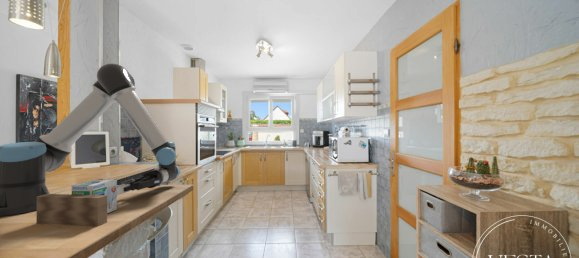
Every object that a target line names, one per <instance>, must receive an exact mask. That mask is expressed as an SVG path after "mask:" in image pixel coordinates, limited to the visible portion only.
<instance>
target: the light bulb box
mask: <svg viewBox="0 0 579 258" xmlns="http://www.w3.org/2000/svg"><path fill="white" fill-rule="evenodd" d="M117 186H118V180H117V178H96V179H94V180H93V179H92V180H89V181H86V182H82V183H81V182H80V183H76V184H73V185H71V194H72V195H107V214H109V213H112V212H114V211H116V210H118V208H117V207H118V195H117Z"/></svg>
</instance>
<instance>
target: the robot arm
mask: <svg viewBox="0 0 579 258" xmlns="http://www.w3.org/2000/svg"><path fill="white" fill-rule="evenodd" d="M96 79H97V80H96V81H95V82H94V83H93V84H92V91H91V92H89V94H88V95H87V96H86V97H85V98H84V99H83V100H82V101H81V102H80V103H78V105H77V106H76V107H75V108H74V109H73V110H72V111H71V112H70V113H68V114H67V116H65V118H63V120H61V122H59V123H58V124H57V125H56V126H55V127H54V128H53V129H52V130H51V131H50V132H49V133H48V134H44V135H43V134H41V135H39V136H38V137H37V138H36V139H35V141H24V142H23V141H20V142H10V143H5V144H2V145H0V217H3V216H4V217H5V216H12V215H19V214H25V213H30V212H36V211H37V196H41V195H46V194H51V193H50V191H49V188H48V187H47V184H46V179H47V178H46V174H47V173H51V172H53V171H56V170H58V169H59V168H60V167H61V166H63V164H64V163H65V162H66V160H67V157H69V155H70V154H71V153H72V151H73V149H72V146H73V144H75V143H76V141H78V140H79V139H80V138H81V137H82V136H83V134H84V133H86V131H87V130H89V128H90V127H91V126H92V125H93V124H94V123H95V122H97V120H98V119H99V118H100V117H101V116H102V115H103V114H104V113H105V112H106V111H107V110H108V109H109V108H110V107H111V106H112V104H117V103H118V105H119V106H120V107H121V109H122V111H124V114H125V115H126V116H127V118H128V119H129V120H130V122H131V123H132V125H133V126H134V128H135V129H136V130H137V132H138V133H139V135H140V137H141V138H142V140H143V141H144V142H145V144H146V146H148V148H149V149H150V151H151V152H152V154H153V155H154V157H155V160H156V161H157V162H158V168H155V169H151V170H149V171H145V172H144V173H143V175H142V176H140V177H138V178H137V177H136V178H134V179H133V178H129V179H127V180H124V181H121V182H120V183H117V196H119V195H123V194H125V193H129V192H130V191H132V192H133V191H135V190H136V191H140V190H143V189H153V188H154V189H155V188H156V187H160V186H161V185H164V184H166V183H169V182H172V181H174V180H176V179H177V178H179V177H180V174H181V169H180V167H179V166H178V165H177V162H176V158H177V153H176V143H175V142H174V141H168V140H167V138H166V136H165V135H164V134H163V131H162V130H161V129H160V127H159V126H158V124H157V123H156V121H155V120H154V118H153V117H152V115H151V114H150V112H149V111H148V109H147V107H146V106H145V105H144V103H143V102H142V100H141V99H140V97H139V95H138V93H136V88H137V87H136V86H135V85H136V83H135V79H134V77H133V75H131V74H130V72H129V70H128V69H127V68H125V67H124V66H123V65H121V64H117V63H107V64H103V65H102V66H101V67H99V68H98V70H97V73H96Z"/></svg>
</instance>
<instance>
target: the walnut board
mask: <svg viewBox="0 0 579 258" xmlns="http://www.w3.org/2000/svg"><path fill="white" fill-rule="evenodd" d="M35 223H36V225H60V226H61V225H62V226H63V225H64V226H85V227H86V226H88V227H99V226H101V225H104V224H106V223H108V213H107V195H72V193H71V194H70V193H68V194H66V193H63V194H62V193H60V194H58V193H50V194H46V195H41V196H37V210H36V222H35Z"/></svg>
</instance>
